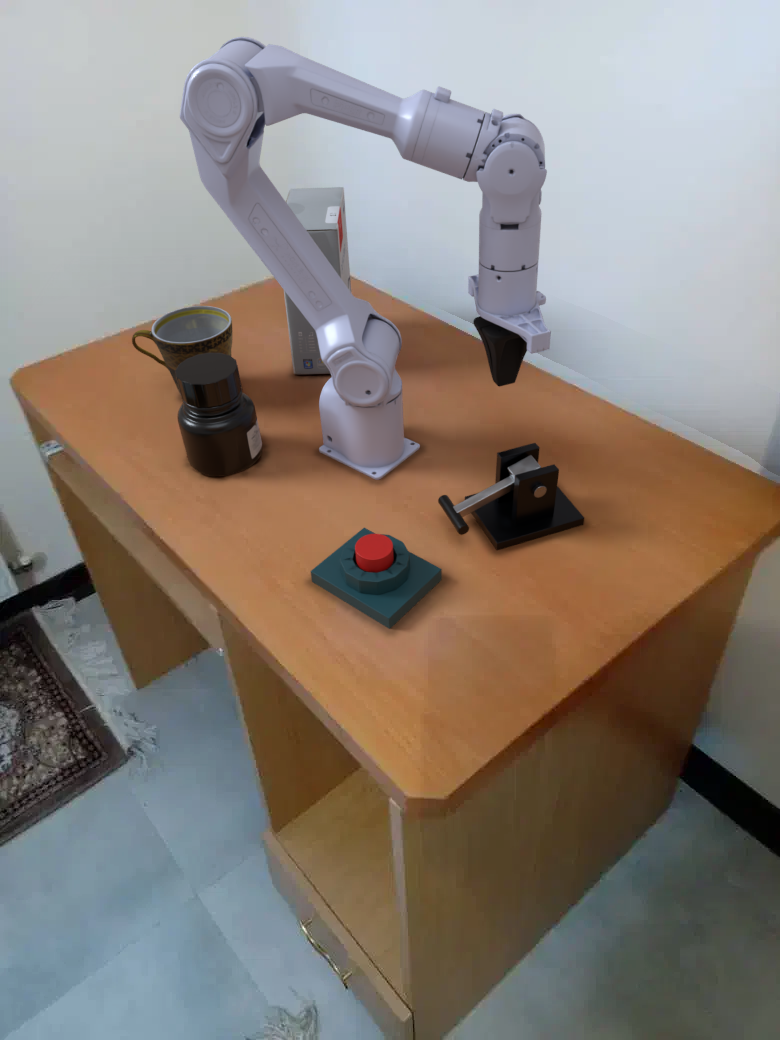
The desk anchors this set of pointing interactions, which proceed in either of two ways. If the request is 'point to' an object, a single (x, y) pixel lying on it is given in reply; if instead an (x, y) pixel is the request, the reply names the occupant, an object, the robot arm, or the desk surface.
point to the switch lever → (484, 495)
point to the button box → (377, 581)
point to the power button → (374, 553)
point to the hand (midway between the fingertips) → (504, 381)
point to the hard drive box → (329, 232)
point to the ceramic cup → (188, 335)
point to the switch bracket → (526, 503)
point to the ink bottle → (216, 416)
